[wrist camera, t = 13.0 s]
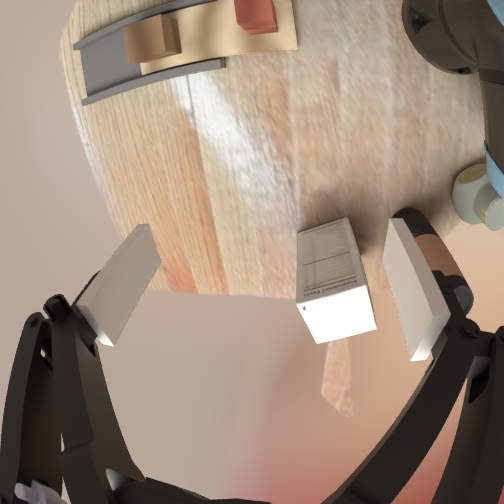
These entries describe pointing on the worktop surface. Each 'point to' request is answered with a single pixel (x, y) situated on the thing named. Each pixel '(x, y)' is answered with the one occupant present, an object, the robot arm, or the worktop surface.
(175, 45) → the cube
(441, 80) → the worktop surface
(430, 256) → the travel mug
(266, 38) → the strip
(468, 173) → the air freshener
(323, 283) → the supplement box
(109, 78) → the lane board
